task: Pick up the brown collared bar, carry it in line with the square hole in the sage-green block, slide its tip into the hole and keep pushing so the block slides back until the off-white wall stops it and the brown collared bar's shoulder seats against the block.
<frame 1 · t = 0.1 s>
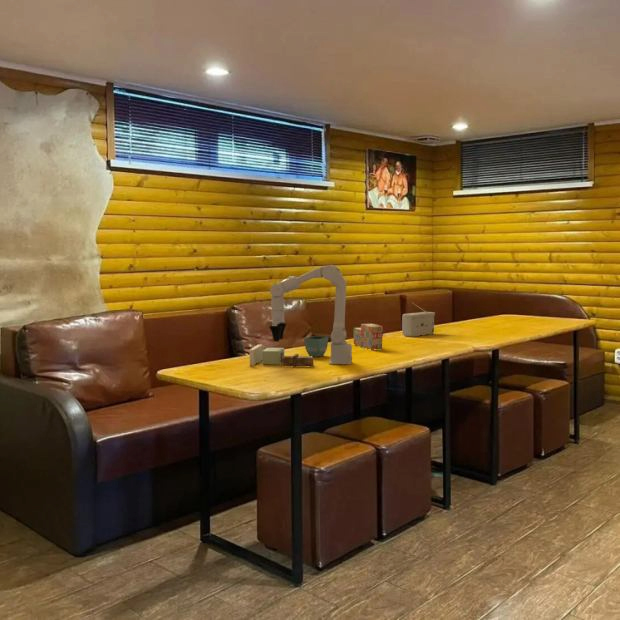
hand: (278, 340, 302), 10 cm above the table, tool pointing down, fingers open, 7 cm apart
stereo radio cassette player: (418, 335, 391), on the table
brown collared bar: (295, 365, 293), on the table
wall: (256, 362, 303), on the table
flower pot: (316, 356, 319), on the table
stack of blocks: (367, 348, 346), on the table
block: (273, 355, 302), point 3 cm above the table, slide at 0.0 cm
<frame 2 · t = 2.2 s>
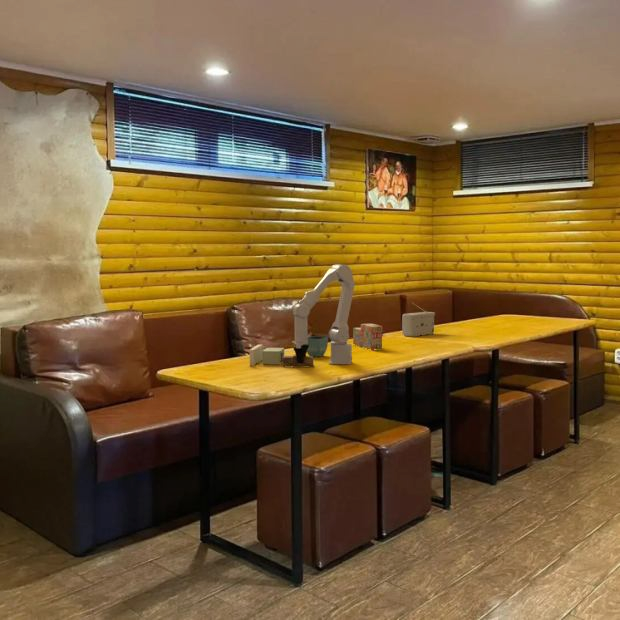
hand: (301, 362, 293), 2 cm above the table, tool pointing down, fingers closed on brown collared bar, 4 cm apart
brown collared bar: (295, 365, 293), on the table, touching gripper
everything else where it was.
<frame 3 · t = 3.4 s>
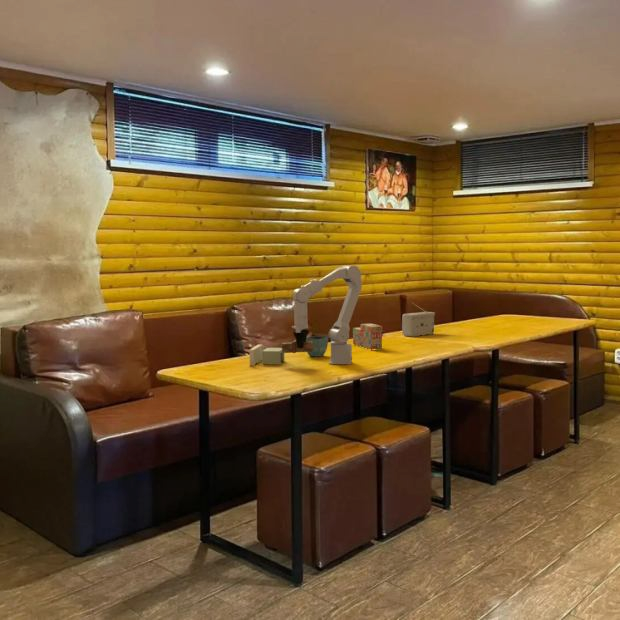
hand: (301, 347, 292), 8 cm above the table, tool pointing down, fingers closed on brown collared bar, 4 cm apart
brown collared bar: (295, 351, 293), point 6 cm above the table, touching gripper
everything else where it was.
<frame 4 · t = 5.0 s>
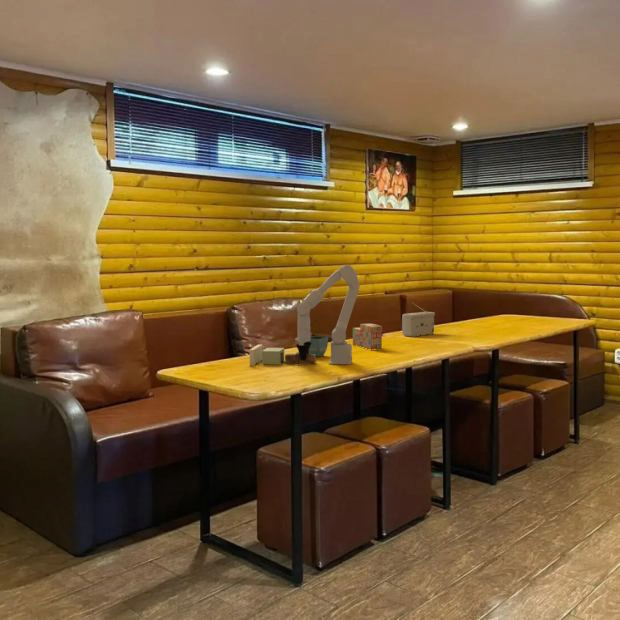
hand: (304, 359, 299), 2 cm above the table, tool pointing down, fingers closed on brown collared bar, 4 cm apart
brown collared bar: (298, 363, 300), on the table, touching gripper
everything else where it was.
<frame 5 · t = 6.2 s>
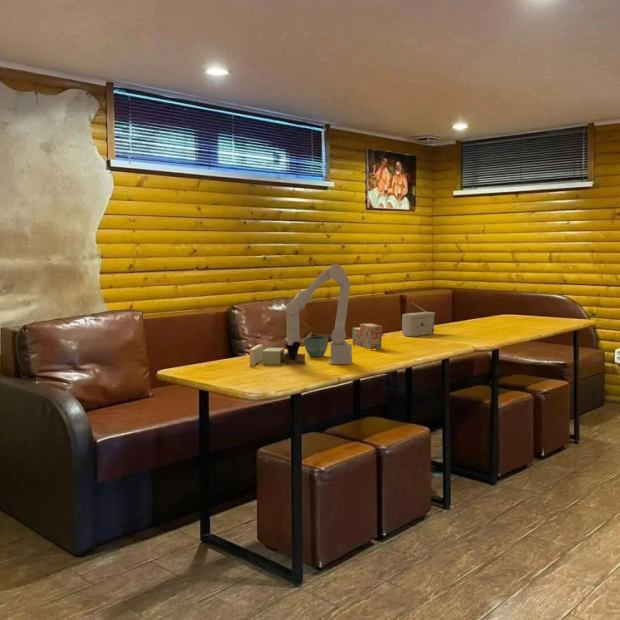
hand: (293, 359, 300), 2 cm above the table, tool pointing down, fingers closed on brown collared bar, 4 cm apart
brown collared bar: (287, 362, 301), on the table, touching gripper
everything else where it was.
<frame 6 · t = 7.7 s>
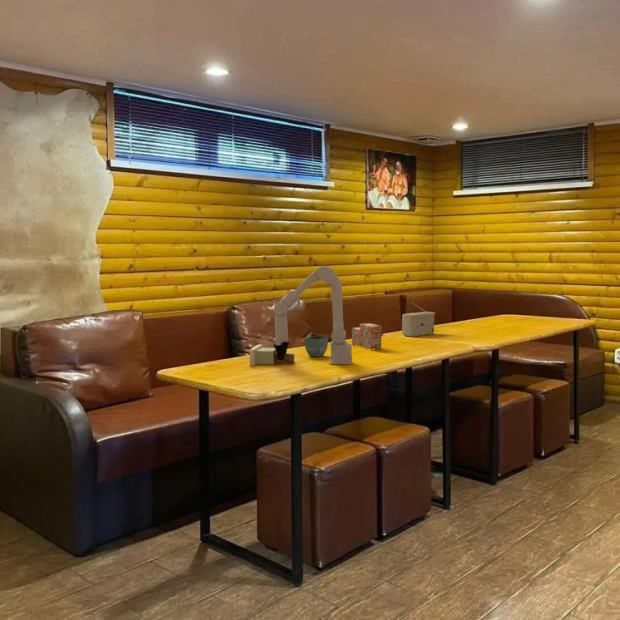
hand: (281, 358, 301), 2 cm above the table, tool pointing down, fingers closed on brown collared bar, 4 cm apart
brown collared bar: (277, 362, 302), on the table, touching block, gripper
block: (266, 355, 302), point 3 cm above the table, slide at 3.0 cm, touching brown collared bar, wall
everything else where it was.
when the fingers open (2 cm above the table, at t = 9.4 s): brown collared bar stays where it is, on the table.
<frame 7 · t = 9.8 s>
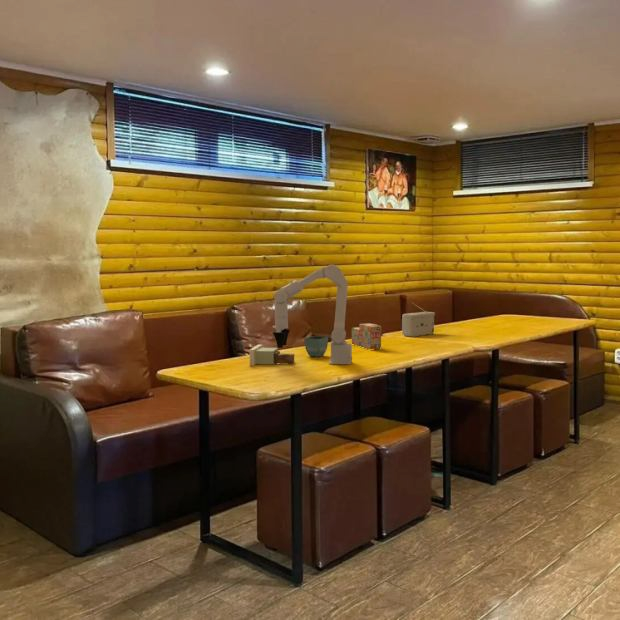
hand: (281, 346, 301), 7 cm above the table, tool pointing down, fingers open, 7 cm apart
brown collared bar: (277, 362, 302), on the table
block: (266, 355, 302), point 3 cm above the table, slide at 3.0 cm, touching wall
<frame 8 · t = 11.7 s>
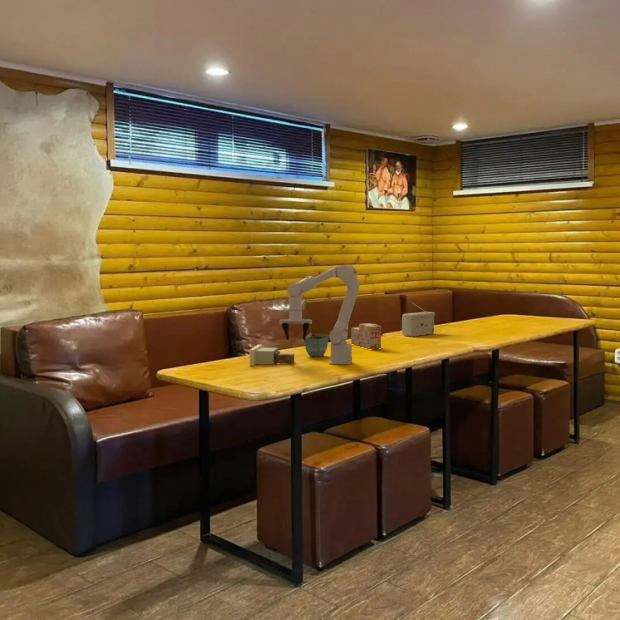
hand: (295, 339, 304), 10 cm above the table, tool pointing down, fingers open, 7 cm apart
at the end: block slide at 3.0 cm; brown collared bar 0.4 cm from the target spot on the block, point 0.0 cm above the block's base; the gripper is holding nothing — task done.
